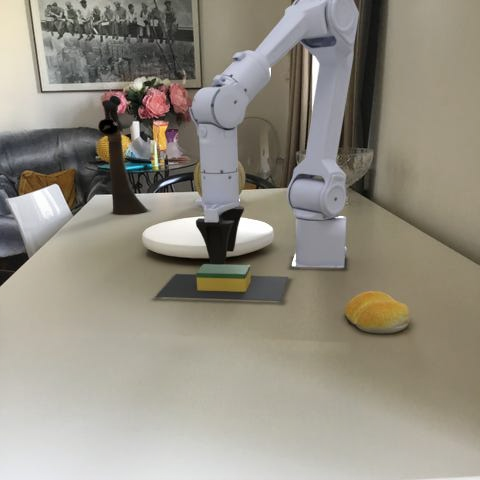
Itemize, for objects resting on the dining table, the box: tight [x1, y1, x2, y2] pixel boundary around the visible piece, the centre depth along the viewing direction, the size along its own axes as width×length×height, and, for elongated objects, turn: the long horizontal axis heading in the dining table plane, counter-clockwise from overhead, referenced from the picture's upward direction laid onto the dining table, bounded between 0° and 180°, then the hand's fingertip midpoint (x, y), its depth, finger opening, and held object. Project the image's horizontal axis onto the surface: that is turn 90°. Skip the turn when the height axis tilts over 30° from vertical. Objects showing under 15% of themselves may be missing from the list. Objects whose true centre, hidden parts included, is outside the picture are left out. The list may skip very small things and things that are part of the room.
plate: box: [141, 216, 275, 259], centre depth 116 cm, size 28×6×27 cm
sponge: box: [195, 263, 251, 292], centre depth 93 cm, size 8×5×3 cm, turn 80°
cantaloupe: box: [193, 160, 246, 198], centre depth 161 cm, size 15×15×15 cm
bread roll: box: [344, 290, 411, 334], centre depth 78 cm, size 8×9×4 cm
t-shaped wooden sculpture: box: [97, 95, 148, 215], centre depth 151 cm, size 32×10×30 cm, turn 4°
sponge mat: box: [155, 273, 289, 302], centre depth 94 cm, size 20×12×1 cm, turn 80°
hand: (222, 257), depth 92 cm, fingers open, 7 cm apart
